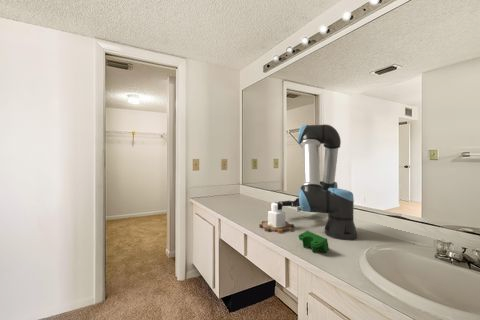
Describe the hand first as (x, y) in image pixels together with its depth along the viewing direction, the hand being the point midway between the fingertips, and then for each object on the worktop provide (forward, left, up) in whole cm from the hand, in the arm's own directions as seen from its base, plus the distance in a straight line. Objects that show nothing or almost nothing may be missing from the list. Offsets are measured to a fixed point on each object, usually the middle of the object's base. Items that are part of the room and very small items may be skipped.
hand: (286, 207), depth 125 cm
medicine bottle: (0, +10, -8) cm, 12 cm away
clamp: (-27, +24, -10) cm, 37 cm away
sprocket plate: (0, +10, -9) cm, 14 cm away
